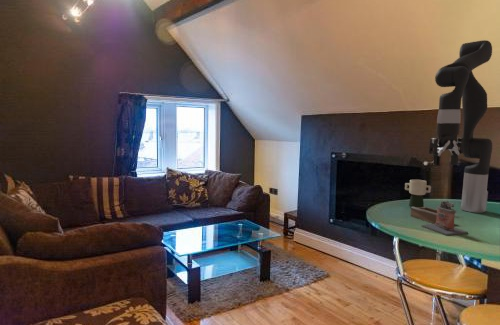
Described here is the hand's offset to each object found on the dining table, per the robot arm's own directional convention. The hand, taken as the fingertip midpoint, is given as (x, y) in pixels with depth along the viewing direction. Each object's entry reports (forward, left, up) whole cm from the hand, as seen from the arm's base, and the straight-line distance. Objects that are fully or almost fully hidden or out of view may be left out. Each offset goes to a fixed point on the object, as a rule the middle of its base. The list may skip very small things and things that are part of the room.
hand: (445, 165), depth 131 cm
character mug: (-13, -26, -23) cm, 37 cm away
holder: (-3, -8, -23) cm, 25 cm away
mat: (+4, +5, -23) cm, 24 cm away
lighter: (+3, +5, -23) cm, 24 cm away
